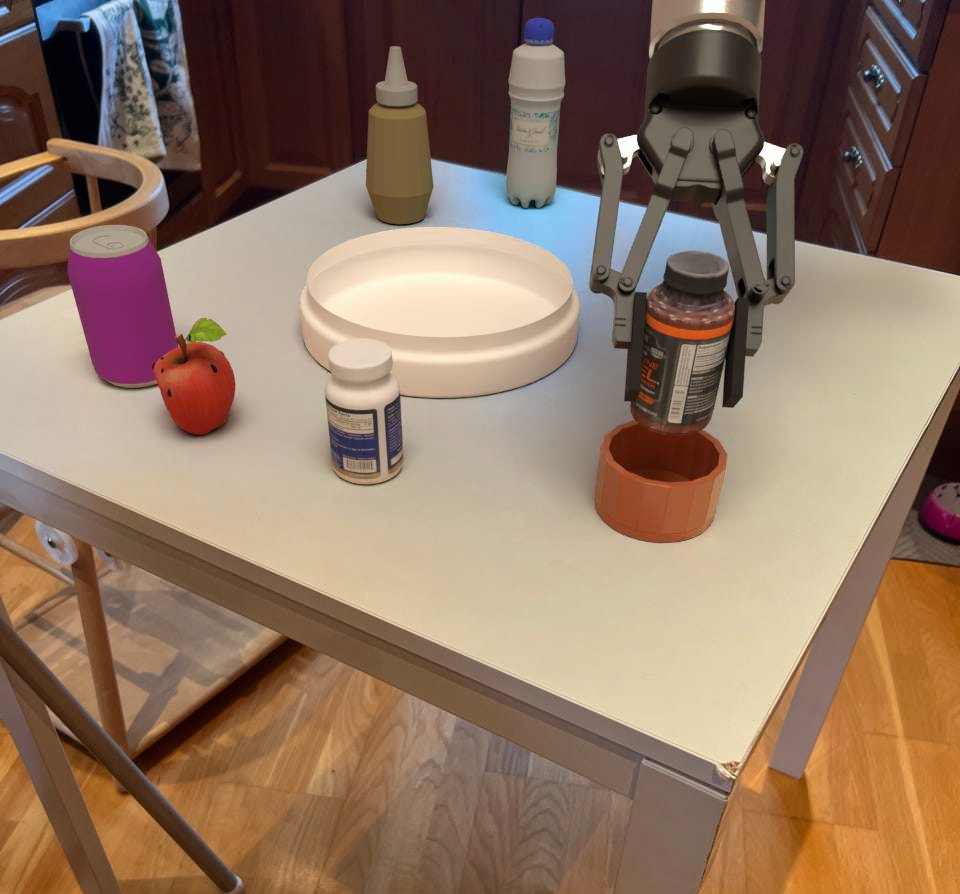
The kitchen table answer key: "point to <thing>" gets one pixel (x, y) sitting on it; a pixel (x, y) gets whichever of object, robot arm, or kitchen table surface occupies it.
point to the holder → (659, 482)
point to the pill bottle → (364, 412)
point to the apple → (197, 380)
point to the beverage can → (121, 303)
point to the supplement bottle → (684, 344)
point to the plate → (445, 308)
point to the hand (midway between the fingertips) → (682, 398)
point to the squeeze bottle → (398, 148)
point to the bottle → (534, 115)
